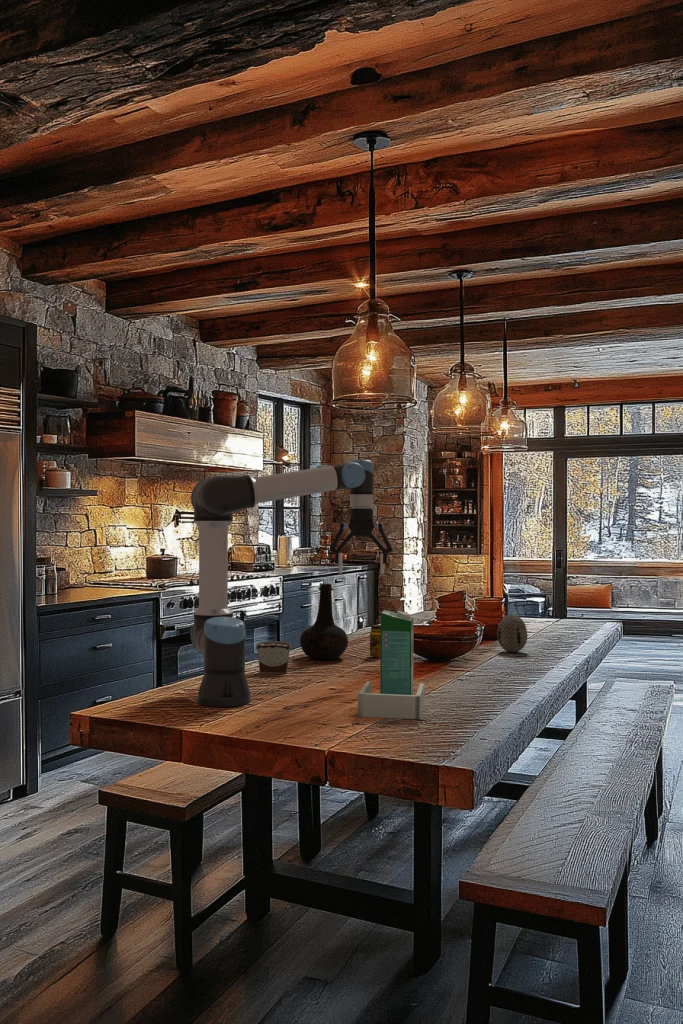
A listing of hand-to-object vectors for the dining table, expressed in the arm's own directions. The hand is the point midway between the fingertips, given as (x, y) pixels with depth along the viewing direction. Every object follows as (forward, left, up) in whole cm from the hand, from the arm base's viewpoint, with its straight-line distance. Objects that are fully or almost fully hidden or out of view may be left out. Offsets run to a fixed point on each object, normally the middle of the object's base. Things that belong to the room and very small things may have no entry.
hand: (361, 573), depth 268 cm
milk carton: (-13, -19, -35) cm, 42 cm away
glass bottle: (+32, +32, -35) cm, 57 cm away
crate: (-31, -26, -35) cm, 53 cm away
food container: (0, +33, -35) cm, 48 cm away
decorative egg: (+82, -25, -35) cm, 93 cm away
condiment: (+46, +16, -35) cm, 60 cm away
